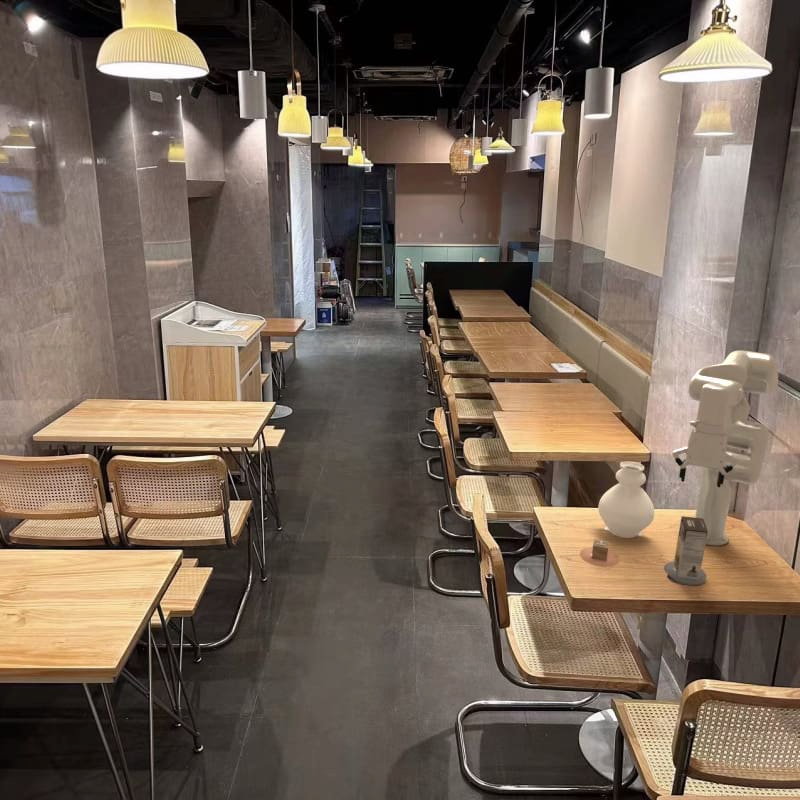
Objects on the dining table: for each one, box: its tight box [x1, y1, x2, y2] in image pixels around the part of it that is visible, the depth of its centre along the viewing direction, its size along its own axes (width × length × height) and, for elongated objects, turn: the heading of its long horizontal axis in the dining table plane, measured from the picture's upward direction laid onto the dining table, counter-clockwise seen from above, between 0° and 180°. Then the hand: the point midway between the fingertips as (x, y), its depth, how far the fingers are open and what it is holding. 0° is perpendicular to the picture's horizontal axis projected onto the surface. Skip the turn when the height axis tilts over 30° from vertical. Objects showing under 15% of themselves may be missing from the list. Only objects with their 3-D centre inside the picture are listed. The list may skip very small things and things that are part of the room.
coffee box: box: [673, 515, 708, 580], centre depth 208 cm, size 9×6×16 cm
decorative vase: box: [597, 461, 655, 539], centre depth 231 cm, size 18×18×25 cm
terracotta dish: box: [579, 546, 620, 567], centre depth 217 cm, size 12×12×1 cm
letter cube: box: [592, 538, 610, 561], centre depth 216 cm, size 4×4×5 cm
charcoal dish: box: [663, 561, 707, 587], centre depth 210 cm, size 12×12×1 cm
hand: (700, 482), depth 202 cm, fingers open, 9 cm apart
